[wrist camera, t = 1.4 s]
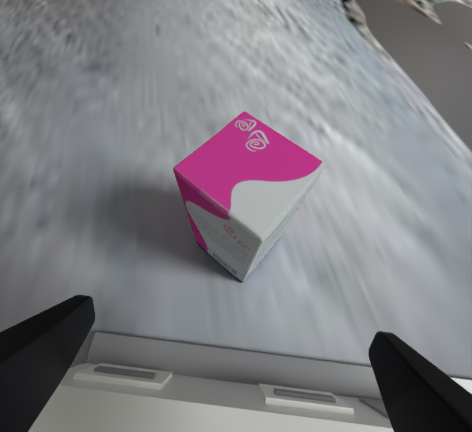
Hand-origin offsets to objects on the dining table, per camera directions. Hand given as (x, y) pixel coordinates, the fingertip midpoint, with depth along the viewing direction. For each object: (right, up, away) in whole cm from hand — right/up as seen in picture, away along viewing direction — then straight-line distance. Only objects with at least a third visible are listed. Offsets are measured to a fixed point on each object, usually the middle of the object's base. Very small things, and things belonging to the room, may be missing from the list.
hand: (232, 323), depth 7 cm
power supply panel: (+4, -10, +10) cm, 15 cm away
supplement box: (0, +1, +15) cm, 15 cm away
